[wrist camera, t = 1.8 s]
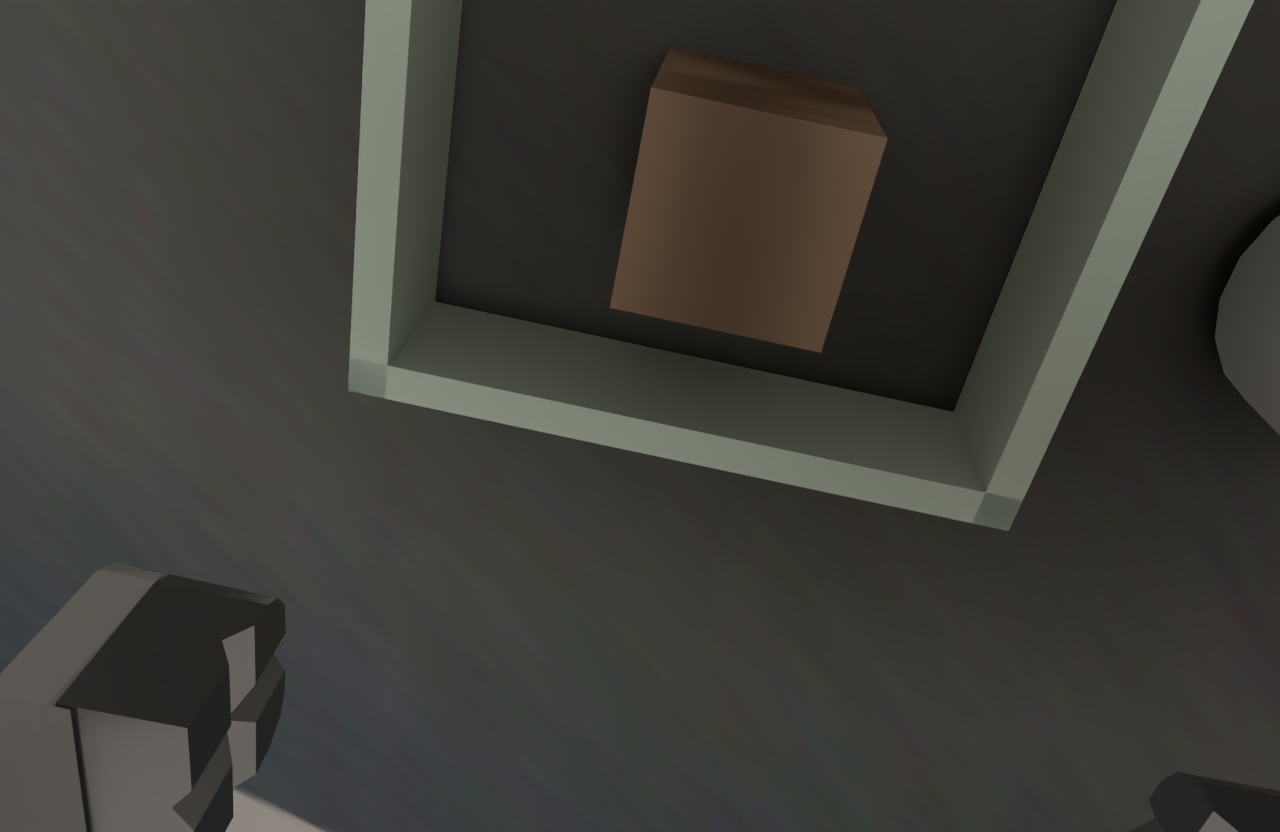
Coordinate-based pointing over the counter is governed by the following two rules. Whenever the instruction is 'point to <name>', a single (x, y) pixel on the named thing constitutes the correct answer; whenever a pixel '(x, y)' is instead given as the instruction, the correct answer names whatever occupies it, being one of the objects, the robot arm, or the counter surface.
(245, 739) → the robot arm
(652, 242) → the block
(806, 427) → the pale green frame
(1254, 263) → the can
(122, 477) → the counter surface
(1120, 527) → the counter surface
